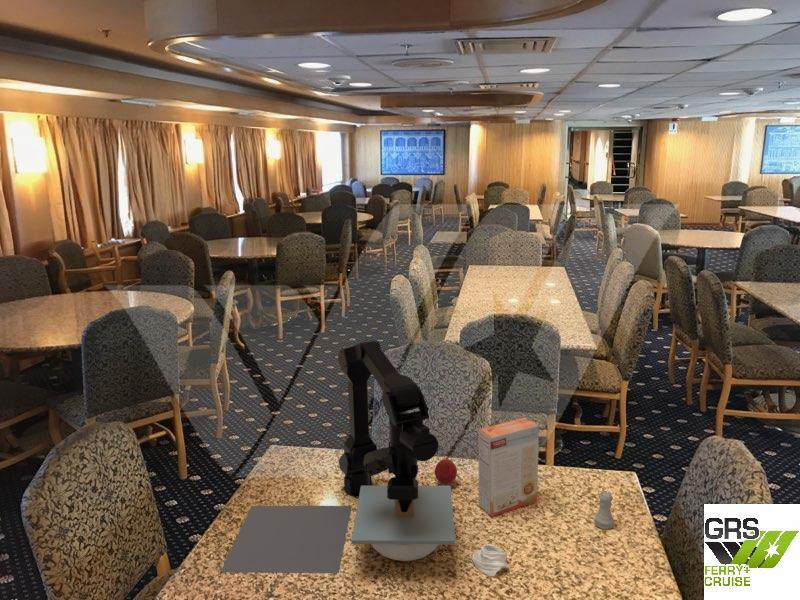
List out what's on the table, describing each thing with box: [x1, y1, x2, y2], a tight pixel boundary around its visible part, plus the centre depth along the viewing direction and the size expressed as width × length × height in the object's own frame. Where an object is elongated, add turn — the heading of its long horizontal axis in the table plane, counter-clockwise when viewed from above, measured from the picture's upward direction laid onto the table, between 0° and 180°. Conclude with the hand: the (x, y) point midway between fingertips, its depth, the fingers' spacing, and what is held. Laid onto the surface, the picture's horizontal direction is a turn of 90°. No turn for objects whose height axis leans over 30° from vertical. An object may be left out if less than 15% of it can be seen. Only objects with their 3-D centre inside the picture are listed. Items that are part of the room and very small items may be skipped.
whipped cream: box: [471, 544, 511, 577], centre depth 132 cm, size 8×7×5 cm
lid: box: [350, 485, 456, 545], centre depth 136 cm, size 21×21×5 cm
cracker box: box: [477, 416, 540, 517], centre depth 153 cm, size 14×6×21 cm, turn 115°
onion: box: [434, 455, 458, 486], centre depth 164 cm, size 6×6×8 cm
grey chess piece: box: [593, 490, 615, 530], centre depth 145 cm, size 4×4×8 cm
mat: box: [220, 505, 353, 574], centre depth 143 cm, size 25×25×1 cm
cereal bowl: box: [370, 544, 439, 562], centre depth 138 cm, size 17×17×7 cm
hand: (404, 506), depth 136 cm, fingers closed on lid, 4 cm apart
